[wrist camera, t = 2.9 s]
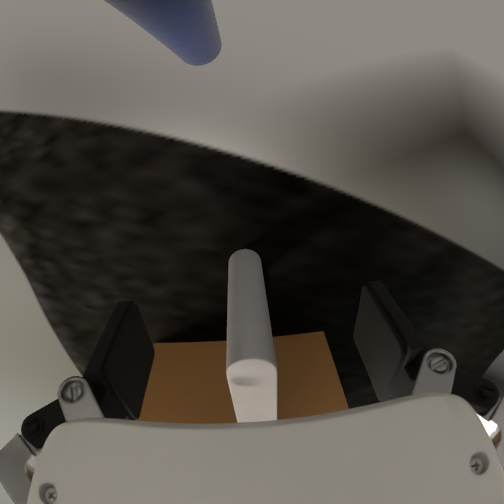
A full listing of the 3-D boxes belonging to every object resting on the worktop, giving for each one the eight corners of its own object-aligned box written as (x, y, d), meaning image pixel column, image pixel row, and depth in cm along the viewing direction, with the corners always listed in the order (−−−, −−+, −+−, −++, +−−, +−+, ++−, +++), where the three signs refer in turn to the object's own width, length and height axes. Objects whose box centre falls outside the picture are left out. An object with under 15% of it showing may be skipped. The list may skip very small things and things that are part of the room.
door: (139, 235, 18) (54, 392, 7) (318, 220, 19) (409, 376, 7) (164, 321, 22) (132, 469, 11) (313, 310, 22) (358, 458, 11)
